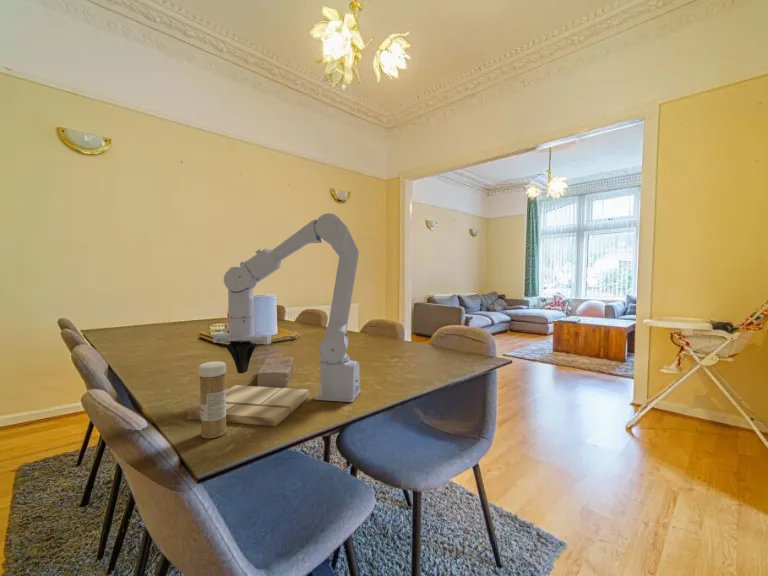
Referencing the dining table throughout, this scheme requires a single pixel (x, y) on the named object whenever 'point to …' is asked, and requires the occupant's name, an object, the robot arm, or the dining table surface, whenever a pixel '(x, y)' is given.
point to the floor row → (249, 413)
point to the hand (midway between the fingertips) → (242, 372)
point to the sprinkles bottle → (212, 399)
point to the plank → (267, 396)
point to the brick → (275, 372)
